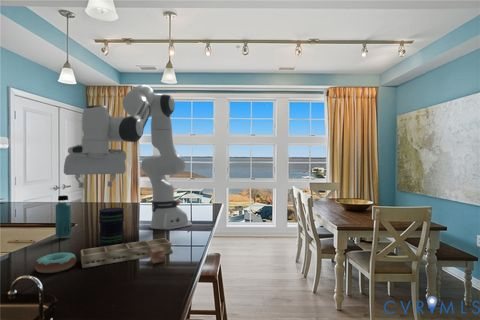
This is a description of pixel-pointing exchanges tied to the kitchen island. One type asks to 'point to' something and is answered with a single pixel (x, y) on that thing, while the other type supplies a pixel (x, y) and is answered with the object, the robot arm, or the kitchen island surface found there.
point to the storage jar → (111, 226)
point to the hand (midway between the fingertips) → (95, 186)
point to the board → (122, 252)
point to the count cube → (157, 255)
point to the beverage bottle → (63, 217)
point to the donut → (55, 262)
